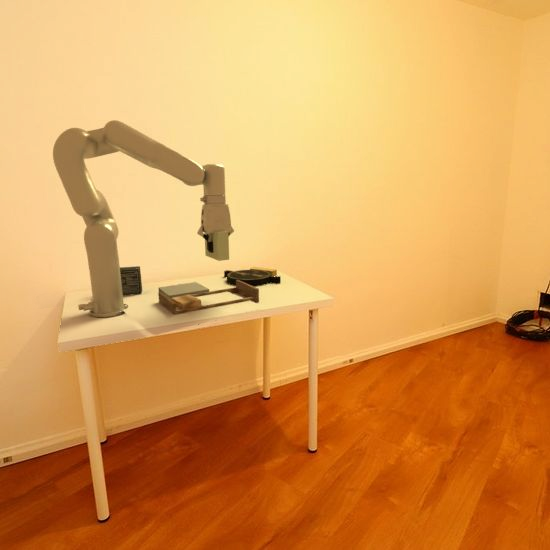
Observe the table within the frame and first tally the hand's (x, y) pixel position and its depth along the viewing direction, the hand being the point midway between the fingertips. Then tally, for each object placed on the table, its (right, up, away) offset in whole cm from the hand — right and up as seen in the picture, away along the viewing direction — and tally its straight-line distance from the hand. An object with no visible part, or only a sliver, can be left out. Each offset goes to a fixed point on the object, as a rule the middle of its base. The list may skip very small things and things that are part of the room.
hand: (216, 251), depth 140 cm
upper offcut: (-10, -19, -3) cm, 22 cm away
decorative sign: (+11, -11, +37) cm, 41 cm away
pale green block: (0, -2, +1) cm, 2 cm away
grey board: (-15, -16, +14) cm, 26 cm away
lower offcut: (-10, -21, -2) cm, 24 cm away
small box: (-39, -16, +17) cm, 45 cm away
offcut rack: (-3, -19, +2) cm, 20 cm away
